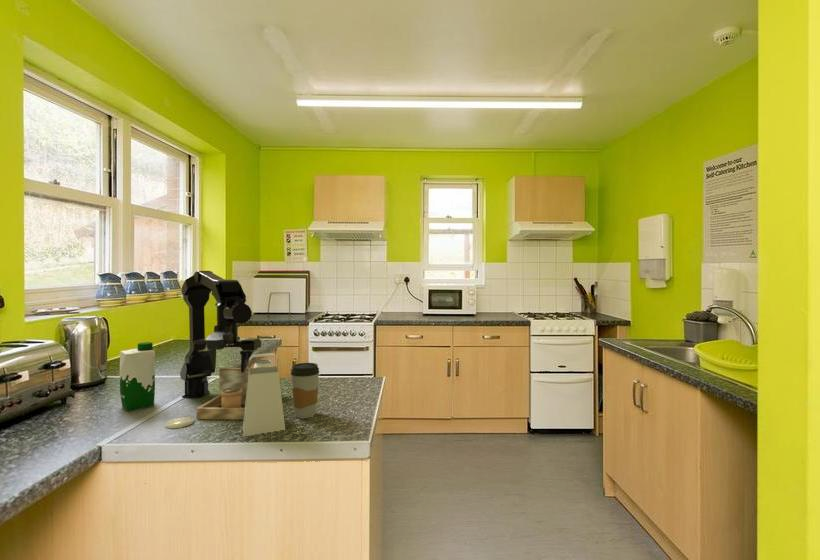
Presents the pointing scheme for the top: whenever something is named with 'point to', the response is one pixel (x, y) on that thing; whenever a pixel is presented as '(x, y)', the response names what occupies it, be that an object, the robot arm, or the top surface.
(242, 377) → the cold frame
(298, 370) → the coffee cup
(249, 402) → the grater
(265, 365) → the can
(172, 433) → the top surface
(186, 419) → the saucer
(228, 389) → the pot
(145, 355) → the milk carton
